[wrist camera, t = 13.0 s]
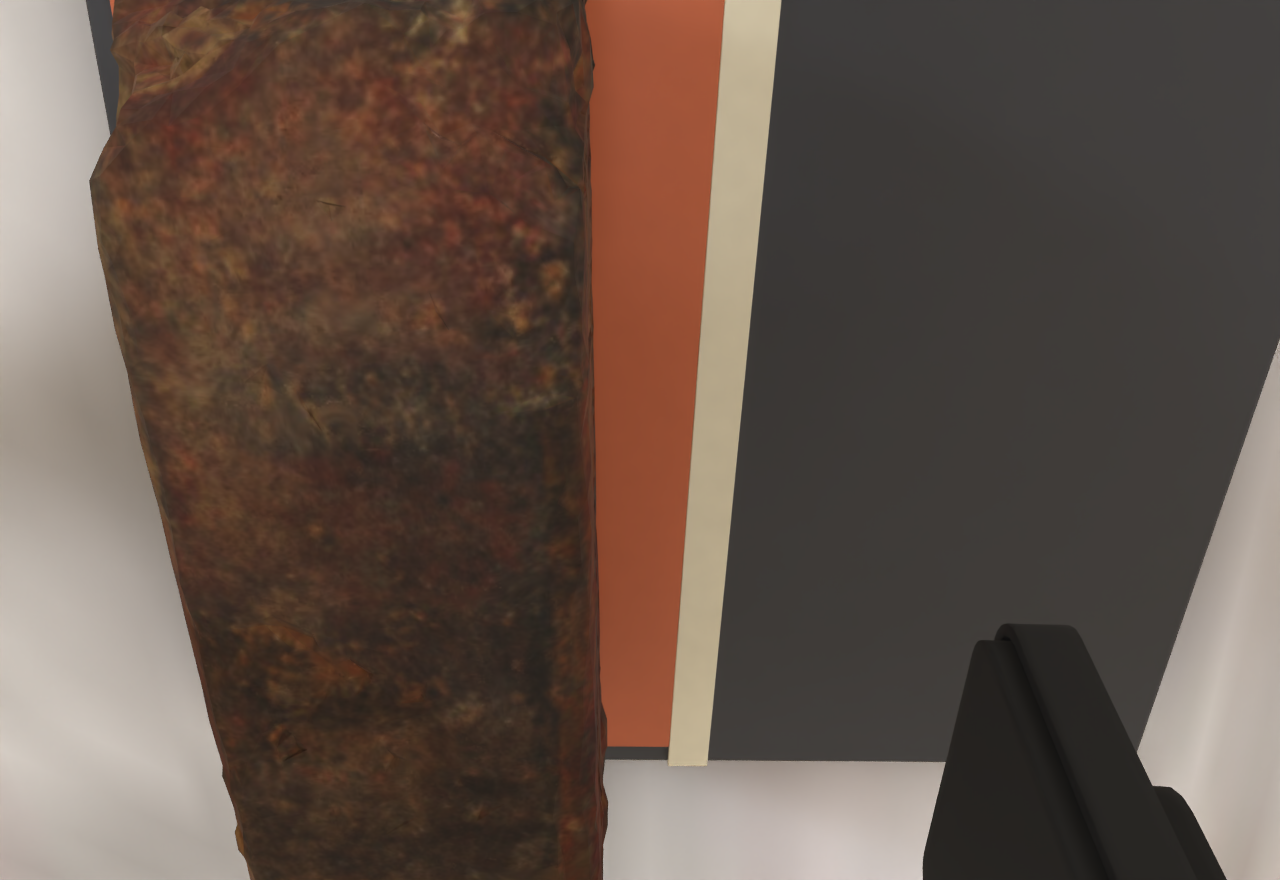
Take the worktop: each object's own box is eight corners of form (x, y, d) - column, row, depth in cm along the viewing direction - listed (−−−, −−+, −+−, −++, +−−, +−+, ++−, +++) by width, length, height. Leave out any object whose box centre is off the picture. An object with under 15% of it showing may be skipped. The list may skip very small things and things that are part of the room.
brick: (607, 701, 18) (612, 988, 14) (333, 707, 18) (258, 999, 14) (592, -81, 12) (595, 17, 8) (199, -79, 12) (10, 21, 8)
